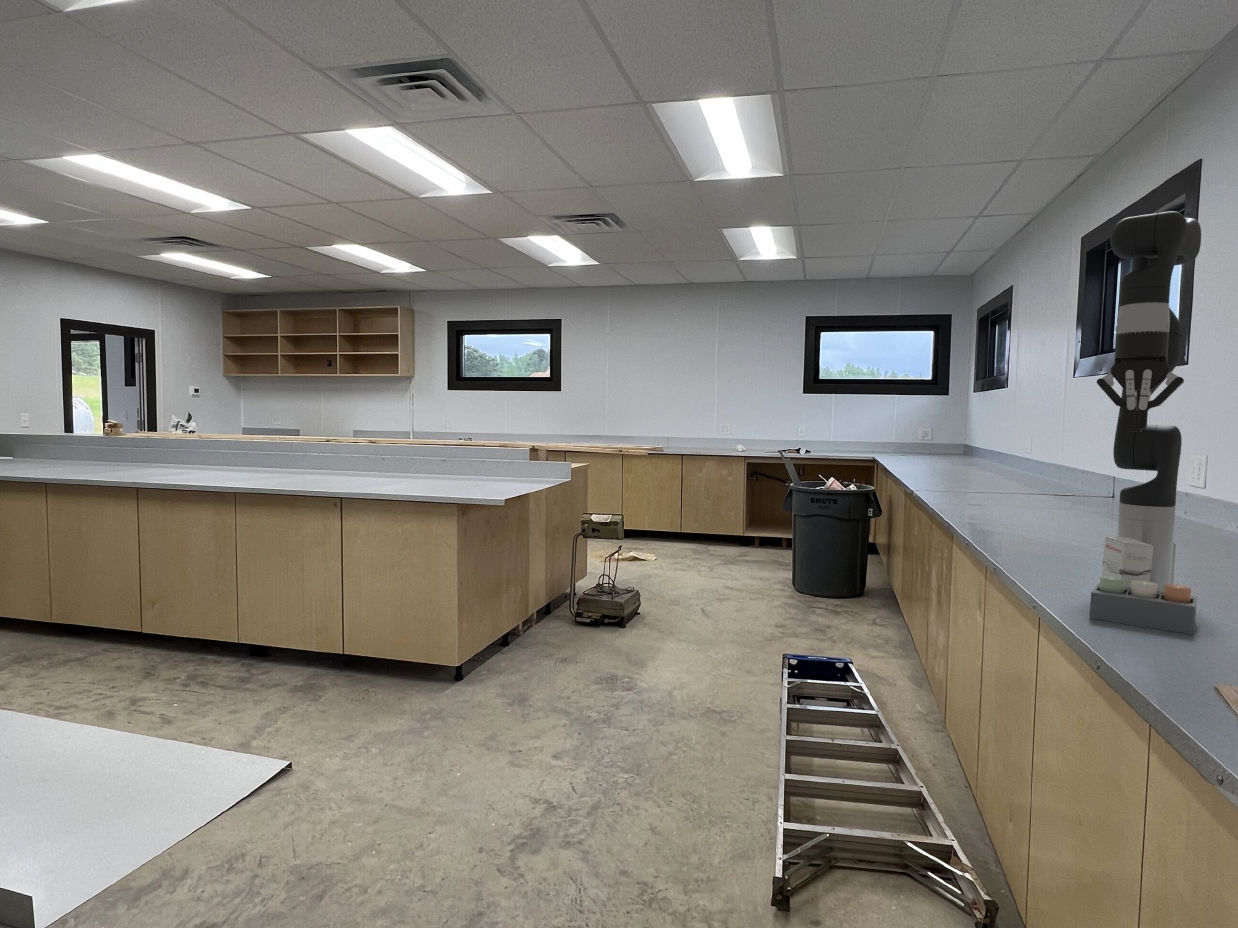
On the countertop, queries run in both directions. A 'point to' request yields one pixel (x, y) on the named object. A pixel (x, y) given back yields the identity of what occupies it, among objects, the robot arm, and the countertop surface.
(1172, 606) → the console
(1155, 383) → the robot arm
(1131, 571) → the ink box
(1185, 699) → the countertop surface
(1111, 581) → the sage button
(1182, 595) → the terracotta button
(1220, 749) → the countertop surface
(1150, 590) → the cream button
